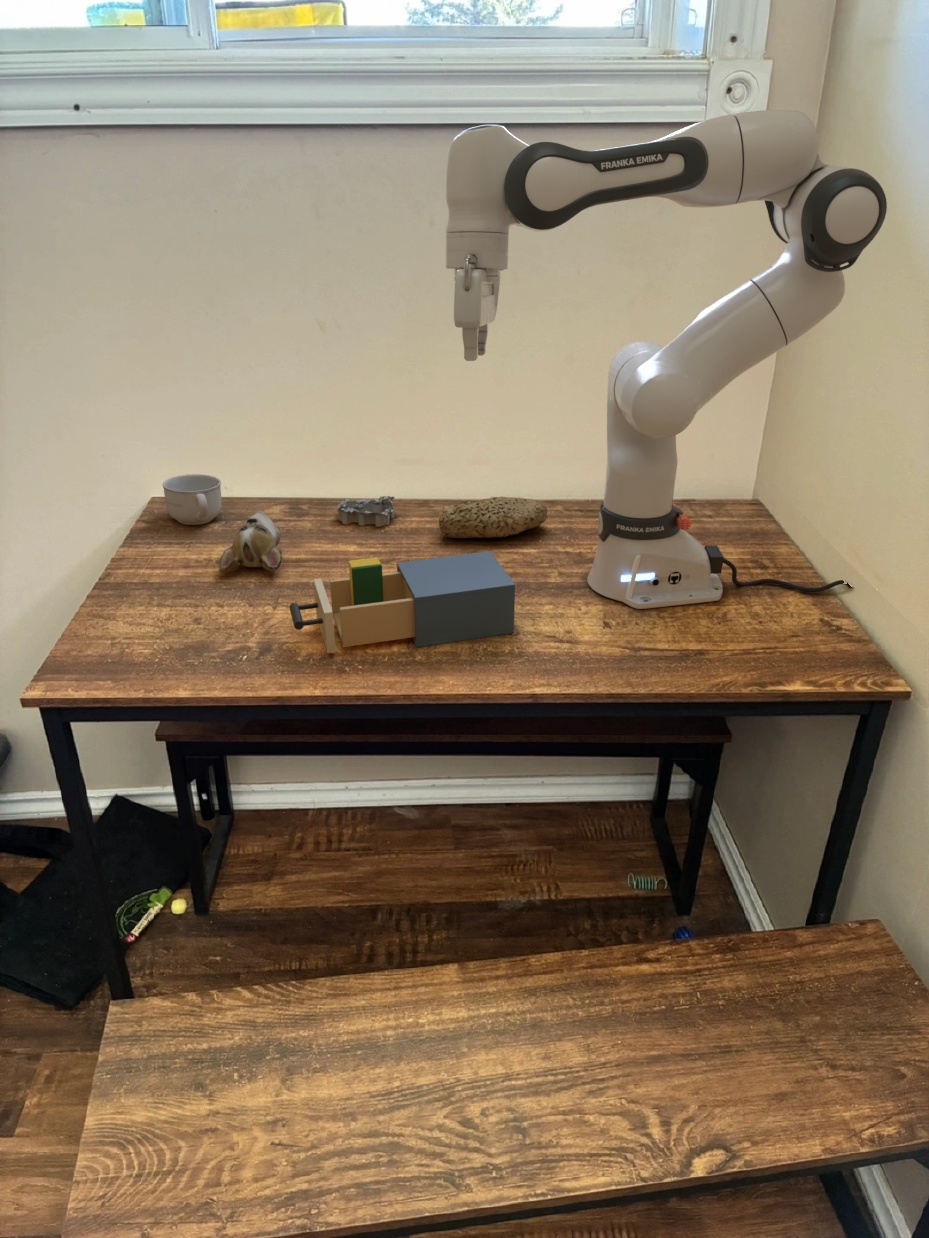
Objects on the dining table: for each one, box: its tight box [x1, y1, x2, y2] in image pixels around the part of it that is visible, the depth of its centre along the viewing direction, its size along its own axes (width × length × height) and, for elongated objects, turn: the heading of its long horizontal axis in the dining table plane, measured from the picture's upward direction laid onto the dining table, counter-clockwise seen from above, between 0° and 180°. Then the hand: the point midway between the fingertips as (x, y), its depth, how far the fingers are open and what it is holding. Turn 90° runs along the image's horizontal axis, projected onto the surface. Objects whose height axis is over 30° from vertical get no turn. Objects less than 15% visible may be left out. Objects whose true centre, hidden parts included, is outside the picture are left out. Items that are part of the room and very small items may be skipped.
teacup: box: [162, 473, 222, 526], centre depth 171 cm, size 14×11×8 cm
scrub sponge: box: [348, 557, 384, 606], centre depth 134 cm, size 4×3×9 cm
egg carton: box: [335, 495, 395, 528], centre depth 174 cm, size 11×8×4 cm
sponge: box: [438, 496, 549, 539], centre depth 167 cm, size 13×8×20 cm
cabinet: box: [396, 550, 516, 648], centre depth 137 cm, size 15×12×8 cm
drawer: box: [289, 571, 415, 654], centre depth 133 cm, size 19×11×7 cm, turn 106°
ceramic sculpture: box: [218, 509, 283, 573], centre depth 155 cm, size 11×9×15 cm
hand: (475, 357), depth 129 cm, fingers open, 8 cm apart
